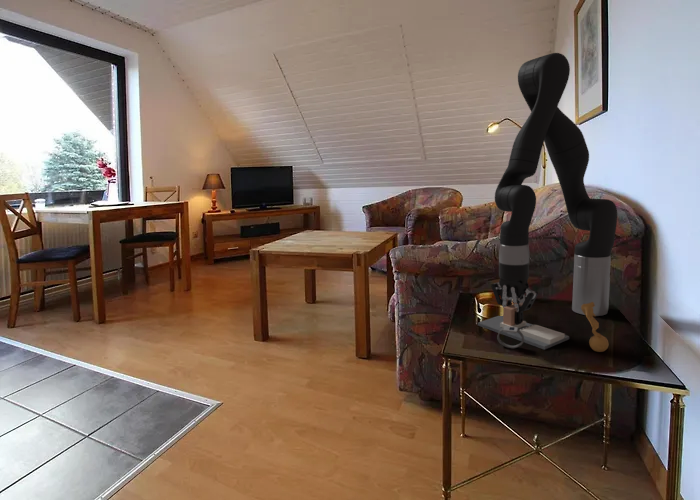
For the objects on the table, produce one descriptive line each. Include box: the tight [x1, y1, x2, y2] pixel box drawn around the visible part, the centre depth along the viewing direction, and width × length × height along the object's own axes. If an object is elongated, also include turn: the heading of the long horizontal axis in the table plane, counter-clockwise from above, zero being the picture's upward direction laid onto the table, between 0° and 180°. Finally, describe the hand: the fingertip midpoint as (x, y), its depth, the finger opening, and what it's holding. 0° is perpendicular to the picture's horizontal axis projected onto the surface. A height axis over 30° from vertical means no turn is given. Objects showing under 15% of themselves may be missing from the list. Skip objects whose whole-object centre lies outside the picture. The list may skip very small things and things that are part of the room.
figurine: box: [581, 302, 609, 353], centre depth 102 cm, size 8×6×12 cm
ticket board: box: [477, 315, 570, 351], centre depth 116 cm, size 10×21×2 cm, turn 31°
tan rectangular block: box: [500, 303, 527, 328], centre depth 118 cm, size 6×4×6 cm, turn 121°
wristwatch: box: [496, 326, 525, 349], centre depth 107 cm, size 6×3×5 cm, turn 62°
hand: (513, 321), depth 118 cm, fingers closed on tan rectangular block, 2 cm apart
